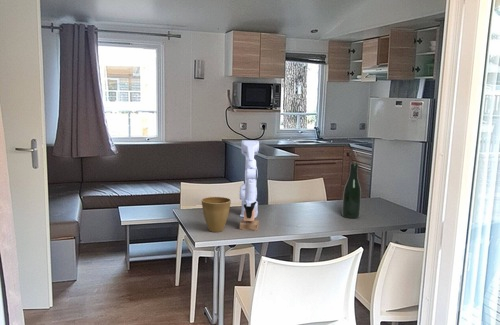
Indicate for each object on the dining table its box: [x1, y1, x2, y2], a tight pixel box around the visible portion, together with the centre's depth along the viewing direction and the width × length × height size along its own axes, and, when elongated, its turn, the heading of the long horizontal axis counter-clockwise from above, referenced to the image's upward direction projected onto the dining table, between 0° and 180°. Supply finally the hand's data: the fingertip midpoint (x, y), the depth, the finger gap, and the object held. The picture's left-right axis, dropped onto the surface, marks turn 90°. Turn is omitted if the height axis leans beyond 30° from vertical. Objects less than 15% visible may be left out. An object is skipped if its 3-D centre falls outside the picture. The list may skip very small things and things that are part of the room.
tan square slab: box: [239, 218, 260, 232], centre depth 241 cm, size 9×9×3 cm
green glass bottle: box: [341, 160, 362, 219], centre depth 268 cm, size 10×10×33 cm
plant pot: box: [201, 196, 232, 233], centre depth 233 cm, size 15×15×16 cm
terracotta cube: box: [243, 209, 256, 221], centre depth 240 cm, size 5×5×5 cm
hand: (249, 216), depth 240 cm, fingers closed on terracotta cube, 5 cm apart
